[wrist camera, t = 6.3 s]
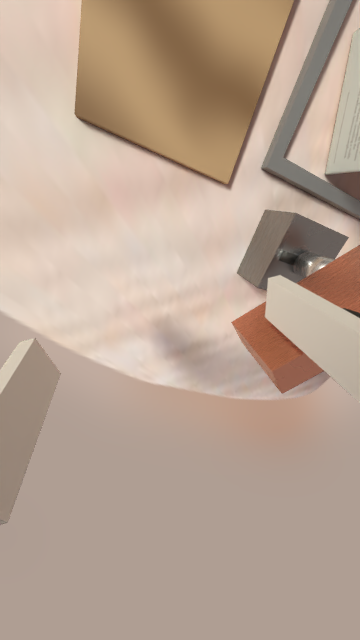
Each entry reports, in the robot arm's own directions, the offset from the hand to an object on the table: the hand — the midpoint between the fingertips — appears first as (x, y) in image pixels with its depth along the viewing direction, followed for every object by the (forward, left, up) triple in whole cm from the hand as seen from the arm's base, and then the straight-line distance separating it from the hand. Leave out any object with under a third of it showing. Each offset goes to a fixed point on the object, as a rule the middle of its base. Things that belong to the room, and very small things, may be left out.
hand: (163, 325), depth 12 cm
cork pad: (-14, -1, -9) cm, 17 cm away
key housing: (-5, +12, -9) cm, 16 cm away
